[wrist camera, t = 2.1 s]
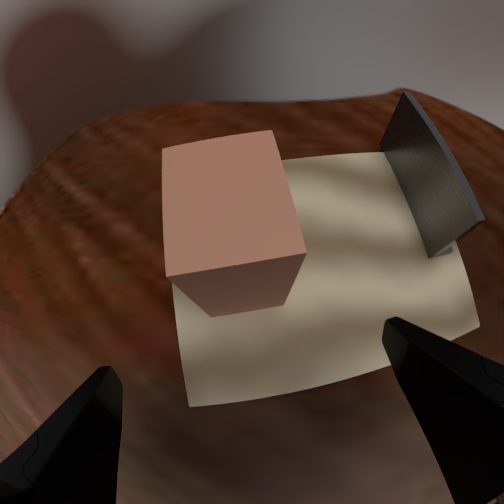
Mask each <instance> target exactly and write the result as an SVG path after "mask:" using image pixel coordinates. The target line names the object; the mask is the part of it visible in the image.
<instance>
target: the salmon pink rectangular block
mask: <svg viewBox="0 0 504 504" xmlns="http://www.w3.org/2000/svg"><path fill="white" fill-rule="evenodd" d="M162 206H163V234H164V253H165V268H166V277H167V278H168V279H169V280H170V281H171V282H172V283H173V284H174V285H176V286H177V287H178V288H179V289H180V290H181V291H182V292H183V293H184V294H185V295H186V296H187V297H189V298H190V299H191V300H192V301H193V302H194V303H195V304H196V305H197V306H199V307H200V308H201V309H202V310H203V311H204V312H205V313H206V314H208V315H209V316H210V317H211V318H212V317H219V316H225V315H231V314H237V313H243V312H249V311H255V310H261V309H266V308H272V307H277V306H282V305H284V304H285V301H286V299H287V297H288V295H289V293H290V290H291V288H292V286H293V284H294V281H295V279H296V277H297V275H298V272H299V270H300V268H301V265H302V263H303V261H304V259H305V256H306V254H307V251H306V247H305V243H304V239H303V235H302V231H301V228H300V224H299V220H298V217H297V213H296V209H295V206H294V202H293V199H292V195H291V192H290V188H289V185H288V181H287V178H286V174H285V171H284V168H283V164H282V161H281V158H280V154H279V151H278V148H277V145H276V142H275V138H274V135H273V132H272V130H268V131H260V132H252V133H245V134H238V135H231V136H225V137H219V138H213V139H208V140H202V141H197V142H192V143H187V144H182V145H177V146H173V147H168V148H164V149H162Z"/></svg>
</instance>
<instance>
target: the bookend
mask: <svg viewBox="0 0 504 504" xmlns="http://www.w3.org/2000/svg"><path fill="white" fill-rule="evenodd" d="M379 145H380V147H381V148H382V150H383V152H384V154H385V156H386V158H387V160H388V162H389V164H390V166H391V168H392V170H393V172H394V174H395V176H396V179H397V181H398V183H399V185H400V187H401V189H402V192H403V194H404V196H405V198H406V201H407V203H408V205H409V208H410V210H411V213H412V215H413V218H414V220H415V223H416V225H417V228H418V230H419V233H420V236H421V239H422V241H423V244H424V247H425V250H426V253H427V256H428V259H431V258H435V257H438V256H442V255H446V254H450V253H452V252H454V251H453V249H452V245H453V244H455V243H456V242H457V241H459V240H460V239H461V238H463V237H464V236H465V235H467V234H468V233H469V232H470V231H472V230H473V229H474V228H476V227H477V226H478V225H479V224H481V223H482V222H483V221H484V220H485V218H484V216H483V213H482V211H481V209H480V207H479V204H478V202H477V200H476V198H475V196H474V194H473V192H472V190H471V188H470V186H469V184H468V182H467V180H466V178H465V176H464V174H463V172H462V170H461V168H460V167H459V165H458V163H457V161H456V159H455V158H454V156H453V154H452V153H451V151H450V149H449V147H448V146H447V144H446V143H445V141H444V139H443V138H442V136H441V135H440V133H439V132H438V130H437V128H436V127H435V125H434V124H433V122H432V121H431V120H430V118H429V117H428V115H427V114H426V112H425V111H424V110H423V108H422V107H421V105H420V104H419V103H418V101H417V100H416V99H415V97H414V96H413V95H412V94H411V92H405V91H403V93H402V95H401V97H400V100H399V102H398V104H397V106H396V109H395V111H394V113H393V116H392V118H391V120H390V122H389V124H388V127H387V129H386V131H385V133H384V135H383V137H382V140H381V142H380V144H379Z"/></svg>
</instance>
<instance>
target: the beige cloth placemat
mask: <svg viewBox="0 0 504 504" xmlns="http://www.w3.org/2000/svg"><path fill="white" fill-rule="evenodd" d="M281 161H282V164H283V168H284V171H285V174H286V178H287V181H288V185H289V188H290V192H291V195H292V199H293V202H294V206H295V209H296V213H297V217H298V220H299V224H300V228H301V231H302V235H303V239H304V243H305V247H306V251H307V254H306V256H305V259H304V261H303V263H302V265H301V268H300V270H299V272H298V275H297V277H296V279H295V281H294V284H293V286H292V288H291V290H290V293H289V295H288V297H287V299H286V301H285V304H284V305H282V306H277V307H272V308H266V309H261V310H255V311H249V312H243V313H237V314H231V315H225V316H219V317H212V318H211V317H210V316H209V315H208V314H206V313H205V312H204V311H203V310H202V309H201V308H200V307H199V306H197V305H196V304H195V303H194V302H193V301H192V300H191V299H190V298H189V297H187V296H186V295H185V294H184V293H183V292H182V291H181V290H180V289H179V288H178V287H177V286H176V285H174V284H173V283H172V288H173V298H174V307H175V316H176V325H177V333H178V340H179V348H180V355H181V362H182V368H183V374H184V380H185V386H186V392H187V398H188V403H189V407H196V406H207V405H217V404H225V403H233V402H240V401H247V400H254V399H260V398H265V397H271V396H276V395H282V394H287V393H291V392H296V391H301V390H305V389H310V388H314V387H318V386H322V385H326V384H330V383H334V382H337V381H341V380H344V379H348V378H351V377H355V376H358V375H361V374H365V373H368V372H371V371H374V370H377V369H380V368H383V367H386V366H389V365H391V363H390V361H389V358H388V356H387V354H386V351H385V349H384V346H383V344H382V334H383V328H384V322H385V320H386V319H388V318H391V317H395V316H397V317H400V318H402V319H404V320H406V321H408V322H411V323H413V324H415V325H417V326H419V327H421V328H424V329H426V330H428V331H430V332H432V333H434V334H436V335H439V336H441V337H443V338H445V339H447V340H449V341H451V340H453V339H455V338H458V337H460V336H462V335H464V334H466V333H468V332H470V331H472V330H474V329H476V328H478V327H480V324H479V320H478V315H477V311H476V307H475V303H474V299H473V295H472V291H471V287H470V284H469V280H468V277H467V274H466V271H465V267H464V264H463V261H462V258H461V255H460V252H459V249H458V247H457V244H456V243H455V244H453V245H452V249H453V251H454V252H452V253H450V254H446V255H442V256H438V257H435V258H431V259H428V256H427V253H426V250H425V247H424V244H423V241H422V239H421V236H420V233H419V230H418V228H417V225H416V223H415V220H414V218H413V215H412V213H411V210H410V208H409V205H408V203H407V201H406V198H405V196H404V194H403V192H402V189H401V187H400V185H399V183H398V181H397V179H396V176H395V174H394V172H393V170H392V168H391V166H390V164H389V162H388V160H387V158H386V156H385V154H384V152H372V153H355V154H340V155H328V156H317V157H307V158H298V159H289V160H281Z"/></svg>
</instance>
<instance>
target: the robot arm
mask: <svg viewBox="0 0 504 504" xmlns="http://www.w3.org/2000/svg"><path fill="white" fill-rule="evenodd" d="M382 344H383V346H384V349H385V351H386V354H387V356H388V358H389V361H390V363H391V366H392V368H393V371H394V374H395V376H396V378H397V381H398V383H399V385H400V387H401V388H402V390H403V392H404V394H405V396H406V398H407V400H408V402H409V404H410V406H411V408H412V410H413V412H414V414H415V416H416V418H417V420H418V422H419V424H420V426H421V428H422V430H423V432H424V434H425V436H426V438H427V440H428V442H429V445H430V447H431V449H432V451H433V453H434V455H435V458H436V460H437V462H438V464H439V466H440V469H441V471H442V473H443V476H444V478H445V481H446V483H447V485H448V488H449V490H450V493H451V495H452V498H453V500H454V503H455V504H487V503H488V502H490V501H492V500H493V499H495V498H496V500H497V502H496V503H494V504H504V365H502V364H499V363H497V362H495V361H493V360H490V359H488V358H486V357H484V356H482V355H481V356H480V355H479V354H477V353H475V352H473V351H471V350H469V349H467V348H464V347H462V346H460V345H458V344H456V343H454V342H452V341H449V340H447V339H445V338H443V337H441V336H439V335H436V334H434V333H432V332H430V331H428V330H426V329H424V328H421V327H419V326H417V325H415V324H413V323H411V322H408V321H406V320H404V319H402V318H400V317H397V316H395V317H391V318H388V319H386V320H385V322H384V328H383V334H382ZM122 400H123V385H122V382H121V381H120V379H119V377H118V376H117V374H116V373H115V371H114V369H113V368H112V367H110V366H102V367H99V368H98V369H97V370H96V371H95V372H94V373H93V374H92V375H91V376H90V377H89V378H88V379H87V380H86V381H85V382H84V383H83V384H82V385H81V386H80V387H79V388H78V389H77V390H76V391H75V392H74V393H73V394H72V395H71V396H70V397H69V398H68V399H67V400H66V401H65V402H64V403H63V404H62V405H61V406H60V407H59V408H58V409H57V410H56V411H55V412H54V413H53V414H52V415H51V416H50V417H49V418H48V419H47V420H46V421H45V422H44V423H43V424H42V425H41V426H40V427H39V428H38V430H36V431H35V432H34V433H33V434H32V435H31V436H30V437H29V438H28V439H27V440H26V441H25V442H24V443H23V444H22V445H21V446H19V447H18V448H17V449H16V450H15V451H14V452H13V453H11V454H10V455H9V456H8V457H7V458H6V459H4V460H3V461H2V462H1V463H0V504H116V490H117V473H118V460H119V449H120V439H121V430H122Z"/></svg>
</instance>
